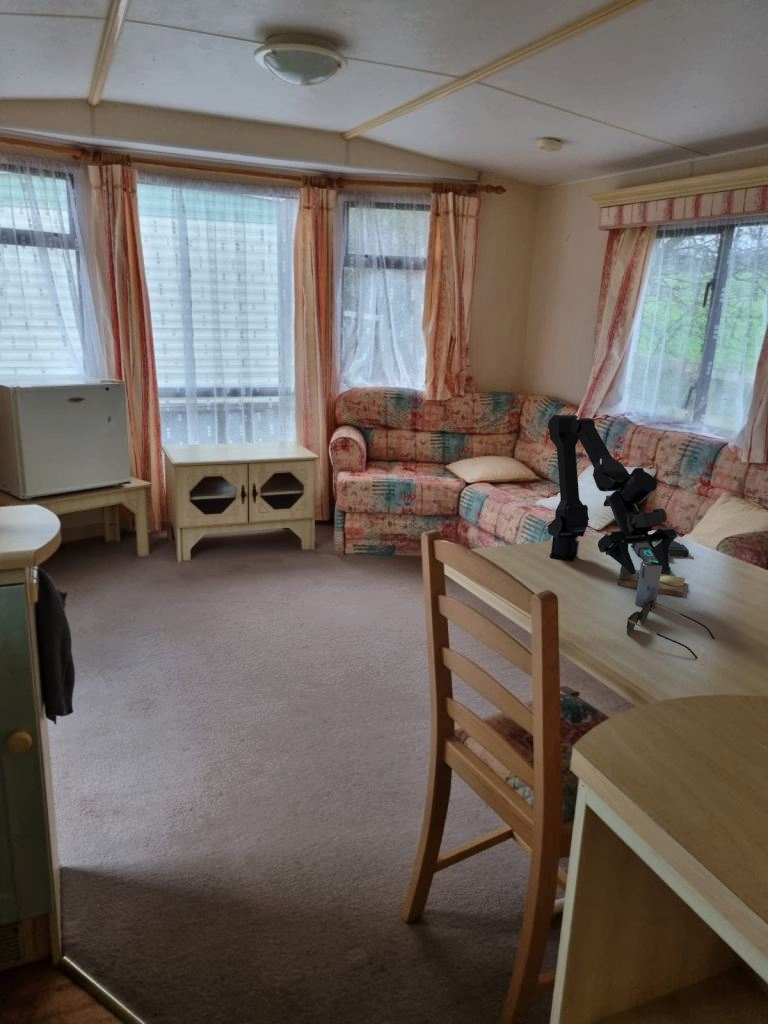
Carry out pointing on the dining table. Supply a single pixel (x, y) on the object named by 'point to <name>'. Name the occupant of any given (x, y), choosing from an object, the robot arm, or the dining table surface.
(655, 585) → the silver metal cylinder
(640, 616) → the sunglasses
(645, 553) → the handgun
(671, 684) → the dining table surface
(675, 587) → the door lock
